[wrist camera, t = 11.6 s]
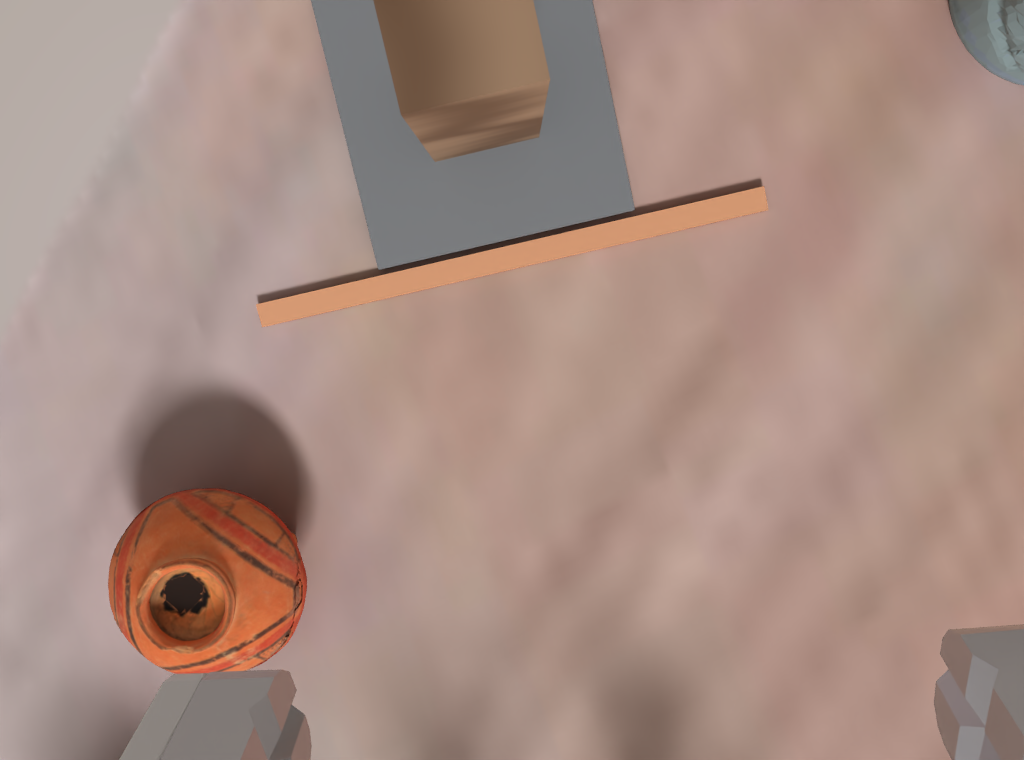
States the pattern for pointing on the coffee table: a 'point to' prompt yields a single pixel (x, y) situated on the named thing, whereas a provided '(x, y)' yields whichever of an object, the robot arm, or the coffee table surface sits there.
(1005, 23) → the teal tumbler
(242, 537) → the pot
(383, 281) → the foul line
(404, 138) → the mat
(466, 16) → the wooden square post
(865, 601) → the coffee table surface
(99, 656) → the coffee table surface
